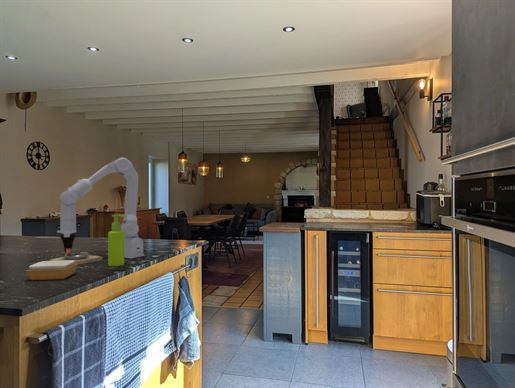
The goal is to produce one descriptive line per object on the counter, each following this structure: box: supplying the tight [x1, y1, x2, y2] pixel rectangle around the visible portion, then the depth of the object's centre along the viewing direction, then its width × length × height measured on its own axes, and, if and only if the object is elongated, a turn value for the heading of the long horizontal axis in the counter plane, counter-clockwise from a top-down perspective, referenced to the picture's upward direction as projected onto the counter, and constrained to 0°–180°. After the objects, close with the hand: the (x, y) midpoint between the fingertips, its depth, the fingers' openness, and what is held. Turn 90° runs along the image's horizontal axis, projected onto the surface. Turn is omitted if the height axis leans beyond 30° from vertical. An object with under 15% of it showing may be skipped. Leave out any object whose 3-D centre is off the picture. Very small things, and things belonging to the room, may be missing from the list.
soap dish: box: [25, 260, 79, 281], centre depth 118 cm, size 12×10×5 cm
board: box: [49, 254, 103, 265], centre depth 145 cm, size 14×14×1 cm
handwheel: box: [63, 248, 90, 259], centre depth 145 cm, size 9×9×4 cm
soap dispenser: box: [107, 213, 126, 267], centre depth 138 cm, size 6×7×20 cm
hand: (68, 252), depth 144 cm, fingers closed, pressing on handwheel
